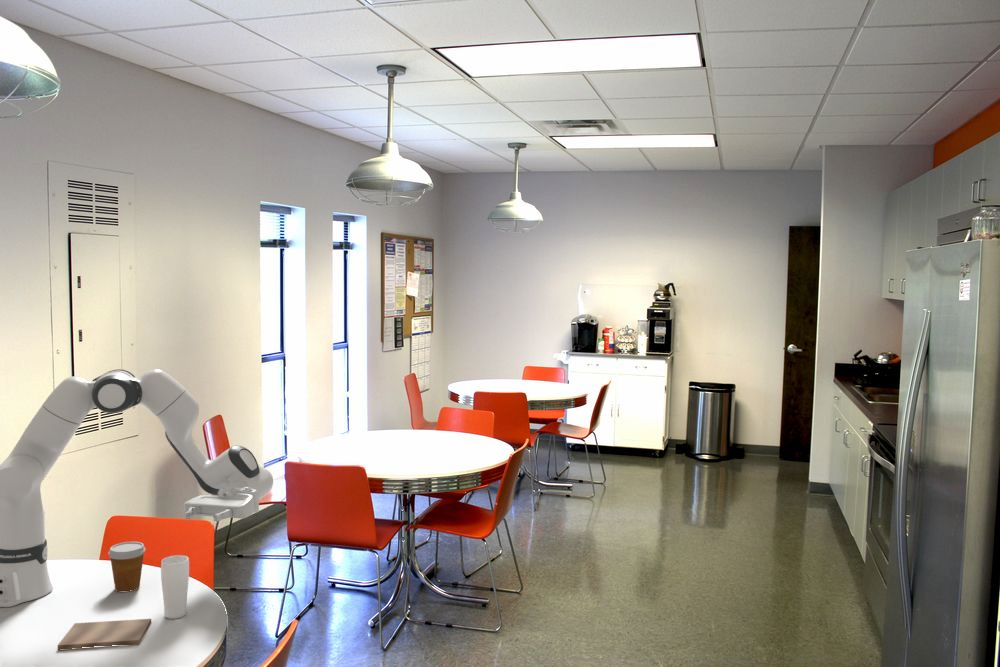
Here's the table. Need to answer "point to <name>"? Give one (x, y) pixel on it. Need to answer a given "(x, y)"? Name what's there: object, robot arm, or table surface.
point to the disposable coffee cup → (127, 564)
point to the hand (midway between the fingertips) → (201, 517)
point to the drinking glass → (175, 585)
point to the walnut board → (105, 633)
